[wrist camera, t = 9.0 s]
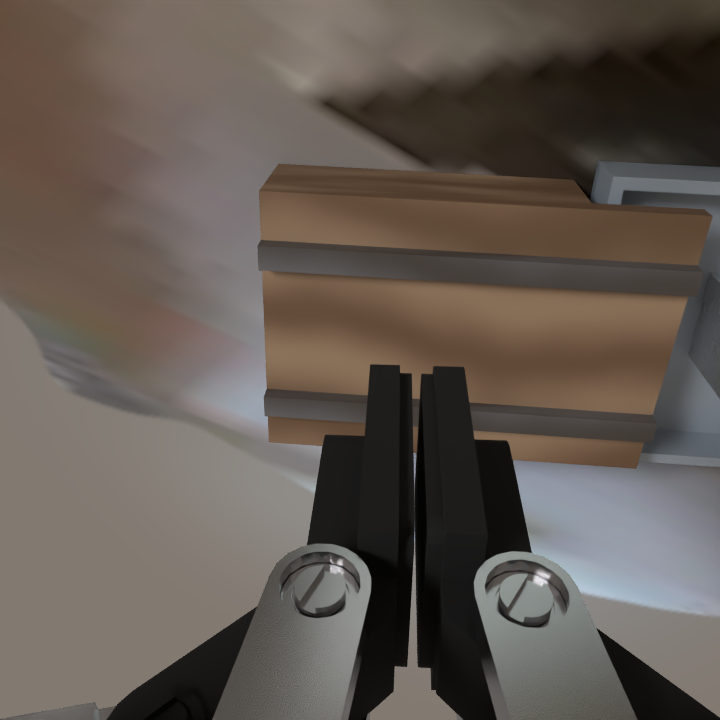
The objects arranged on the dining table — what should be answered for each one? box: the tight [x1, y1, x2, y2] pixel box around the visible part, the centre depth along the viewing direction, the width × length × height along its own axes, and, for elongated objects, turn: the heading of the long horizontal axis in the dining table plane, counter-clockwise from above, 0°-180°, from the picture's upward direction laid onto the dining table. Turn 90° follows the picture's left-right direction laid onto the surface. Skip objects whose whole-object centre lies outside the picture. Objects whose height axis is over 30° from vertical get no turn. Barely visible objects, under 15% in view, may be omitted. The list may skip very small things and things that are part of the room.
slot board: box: [258, 164, 713, 468], centre depth 35 cm, size 14×20×6 cm
